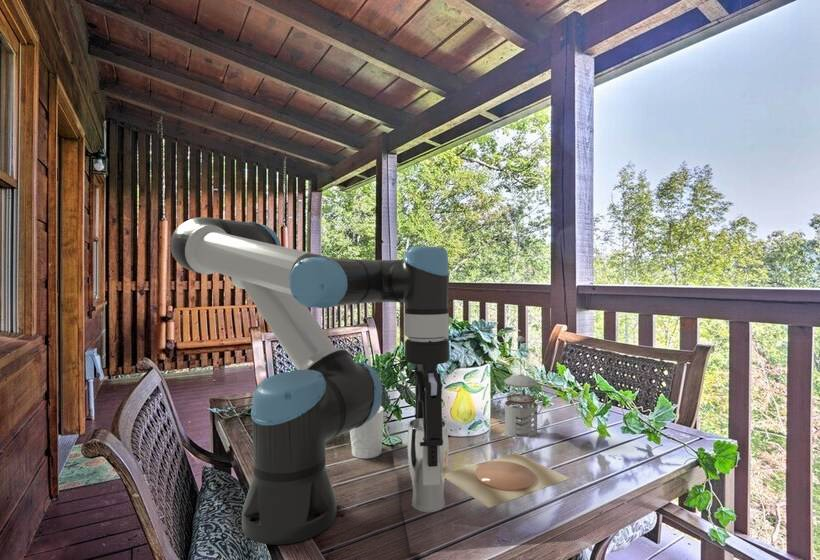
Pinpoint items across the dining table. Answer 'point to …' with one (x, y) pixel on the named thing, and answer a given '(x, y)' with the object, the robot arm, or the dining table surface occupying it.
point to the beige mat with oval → (494, 497)
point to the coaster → (505, 475)
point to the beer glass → (423, 495)
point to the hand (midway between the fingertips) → (427, 473)
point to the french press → (525, 401)
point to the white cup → (368, 437)
